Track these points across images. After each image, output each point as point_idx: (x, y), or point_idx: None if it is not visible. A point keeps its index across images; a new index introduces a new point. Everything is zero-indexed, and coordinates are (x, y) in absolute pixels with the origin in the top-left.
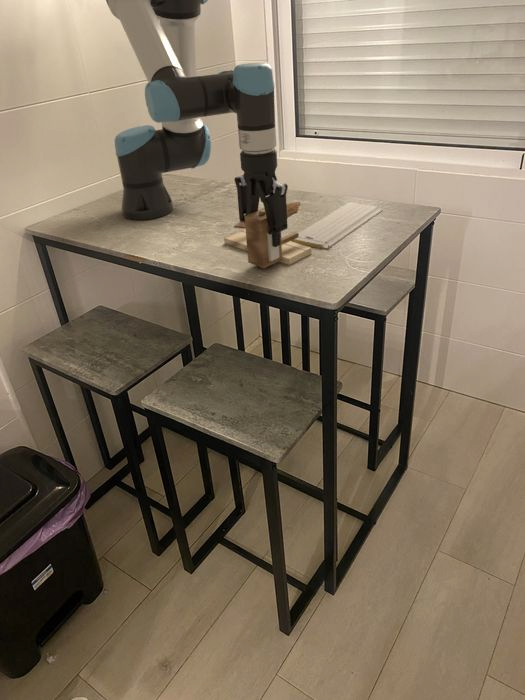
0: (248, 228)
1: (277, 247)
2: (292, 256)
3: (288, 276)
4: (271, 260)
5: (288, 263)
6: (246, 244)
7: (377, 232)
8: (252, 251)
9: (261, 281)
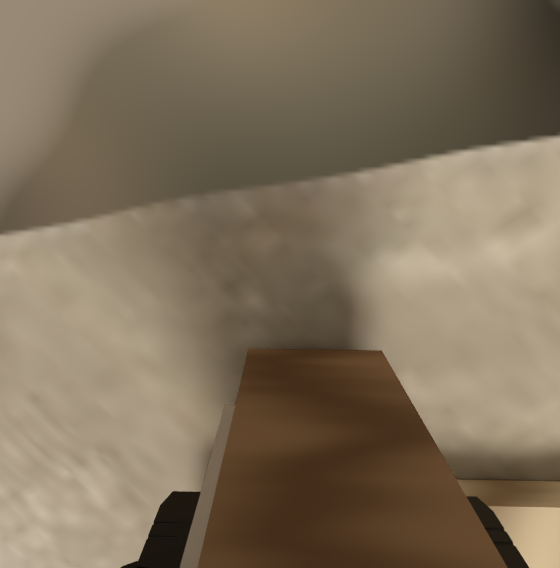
0: (438, 546)
1: None
2: None
3: (122, 379)
4: (224, 410)
5: None
6: (557, 513)
7: None
8: (350, 392)
9: (190, 254)
